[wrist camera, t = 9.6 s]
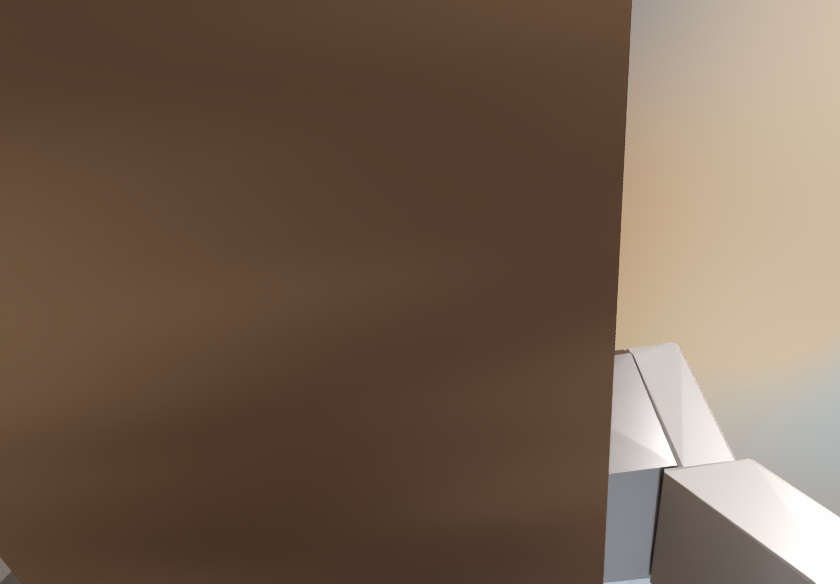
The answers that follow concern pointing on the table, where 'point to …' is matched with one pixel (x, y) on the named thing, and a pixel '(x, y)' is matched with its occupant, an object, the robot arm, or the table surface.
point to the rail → (309, 289)
